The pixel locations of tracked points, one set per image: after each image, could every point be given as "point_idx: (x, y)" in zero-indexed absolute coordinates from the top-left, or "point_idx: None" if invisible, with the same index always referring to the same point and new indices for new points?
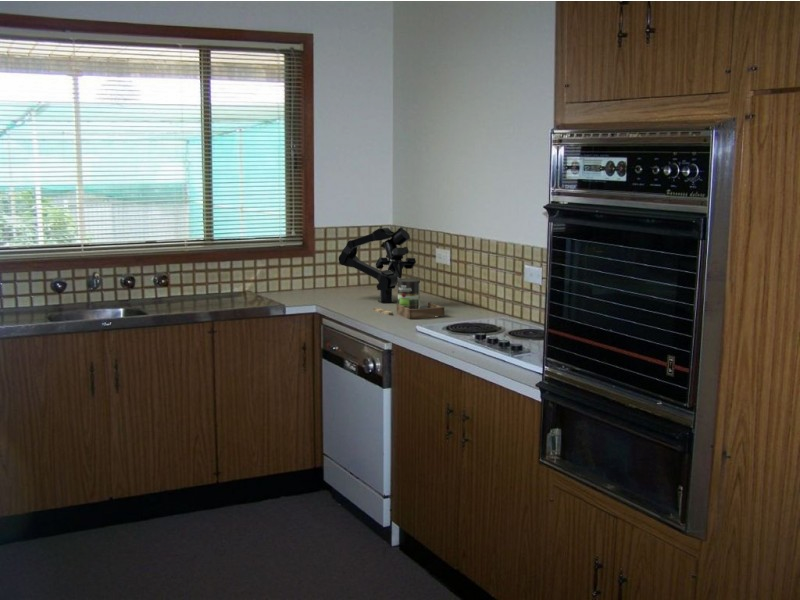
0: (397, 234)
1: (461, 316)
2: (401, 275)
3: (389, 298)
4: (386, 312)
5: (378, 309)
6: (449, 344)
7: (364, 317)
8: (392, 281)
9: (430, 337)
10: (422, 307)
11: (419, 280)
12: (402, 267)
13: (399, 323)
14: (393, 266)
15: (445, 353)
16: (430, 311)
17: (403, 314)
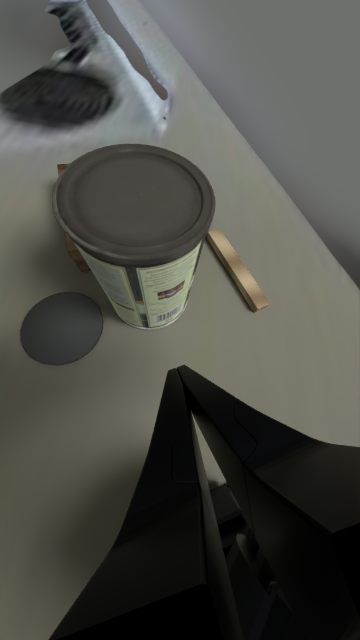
0: None
1: (20, 186)
2: (166, 379)
3: (214, 499)
4: (225, 239)
5: (251, 277)
6: (139, 42)
7: (278, 219)
8: (231, 573)
9: (157, 70)
10: (90, 325)
11: (68, 166)
12: (130, 506)
13: (196, 152)
14: (357, 557)
15: (156, 22)
16: None
17: None
